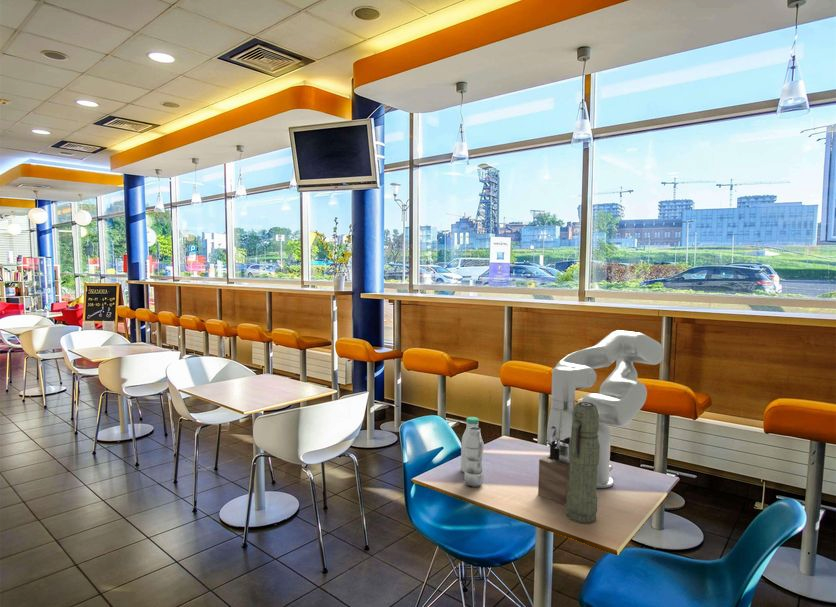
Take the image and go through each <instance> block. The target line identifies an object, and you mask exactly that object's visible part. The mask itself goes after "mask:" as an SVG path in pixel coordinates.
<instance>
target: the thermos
mask: <svg viewBox="0 0 836 607" xmlns="http://www.w3.org/2000/svg"><path fill="white" fill-rule="evenodd" d="M598 427H599V413H598V410H597V406H596V405H594V404H592V403H588V402H577V403H575V407H574V410H573V414H572V431H571V439H570V442H569V460H570V477H569V490H568V493H567V504H566V517H567V518H568V519H569V520H571V521H573V522H574V523H577V522H578V523H577V524H582V523H583V525H585V524H586V525H587V524H588V525H589V524H593V523H595V522H596V521H597V512H598V505H599V504H598V502H599V500H598V499H599V498H598V494H597V488H596V484H597V465H598V464H599V454H600V444H599V441H598V435H597V434H598Z"/></svg>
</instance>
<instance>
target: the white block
mask: <svg viewBox="0 0 836 607" xmlns="http://www.w3.org/2000/svg"><path fill="white" fill-rule="evenodd" d="M554 442H555V443H556V442H557V441H554ZM558 448H559V449H560V452H559V460H558V461H557V460H554V461H557V462H560V463H563V464H566V465H569V464H570V460H569V444H565V443H563V441H560V444H559V447H558Z"/></svg>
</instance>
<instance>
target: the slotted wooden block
mask: <svg viewBox="0 0 836 607" xmlns="http://www.w3.org/2000/svg"><path fill="white" fill-rule="evenodd" d="M538 460H539V463H538V482H537V483H538V489H537V490H538V491H537V494H538V496H541V497H544V498H547V499H550V500H551V501H555V502H556V503H559V504H562V505H567V493H568V490H569V477H570V464H569V465H566V464H563V463H560V462H557V461H554V460H553V459H551V458H550V454H549V455H546V456H544V457H542V458H539V459H538Z"/></svg>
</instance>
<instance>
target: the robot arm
mask: <svg viewBox="0 0 836 607" xmlns="http://www.w3.org/2000/svg"><path fill="white" fill-rule="evenodd" d="M664 356H665V349H664V348H663V345H662V344H661V343H660V342H659V341H657V340H656V339H653V338H652V337H650V336H648V335H646V334H644V333H642V332H639V331H638V332H637V331H636V332H635V331H629V330H620V329H618V330H614V331H611V332H609V334H607V335H606V336H605V337H604V338H603V339H601V340H599V341H598V342H597V343H596V344H595V345H594V346H590V347H587V348H583V349H580V350H577V351H574V352H571V353H570V354H567V355H566V356H565V357H563V358H562V359H560V360H559V361H558V362H557V363H556V365H555V367H554V368H553V369H552V373H551V400H550V402H551V403H550V410H549V413H548V420H547V429H546V431H547V432H546V434H547V435H546V441H547V443H548V445H549V455H550V458H551V459H553V460H557V461H558V460H559V452H560V449H559V448H558V447H559V444H560V442H561V441H562V443H565V444H569V442H570V439H571V431H572V414H573V410H574V407H575V405H576V403H575V401H576V389H588V388H591V387H592V386H593V385H595V384H596V382H597V373H596V371H595V370H594V369H603V368H608V367H609V366H611V365H612V364H613V363H615V362H616V363H615V368H614V369H613V370H612V372H610V374H608V376H607V377H606V378H605V380H604V381H603V382H602V383H601V385H600V386H599V393H595V392H592V393H591V392H590V393H586V394H585V395H584V396H582V399H581V400H580V401H581V402H588V403H592V404H594V405H596V406H597V410H598V413H599V427H598V434H597V435H598V441H599V444H600V454H599V464H598V465H597V484H596V489H604V488H606V489H607V488H610V487H612V486H613V485H614V479H613V478H612V477H611V476H610V472H612V471H613V469H614V467H613V466H612V465H611V464H610V461H611V460H610V458H611V440H612V435H611V430H610V426H613V427H618V428H623V427H624V428H625V427H627V425H628V424H630V423H631V422H632V421H633V419H634V418H635V417H636V415H637V414H638V413H639V411H640V410H641V409H642V408H643V406H644V405H645V403H646V400H647V396H648V390H647V387H646V385H645V384H644V383H643V382H642V381H639V380H638V377H639V376H638V372H637V370H636V368H635V365H634V363H639V364H645V365H651V366H655V365H658V364H660V363H661V362H662V361H663V360H664ZM609 425H610V426H609ZM555 442H556V443H555Z"/></svg>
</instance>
